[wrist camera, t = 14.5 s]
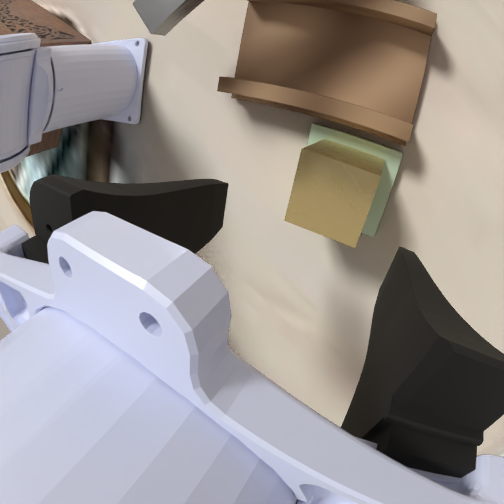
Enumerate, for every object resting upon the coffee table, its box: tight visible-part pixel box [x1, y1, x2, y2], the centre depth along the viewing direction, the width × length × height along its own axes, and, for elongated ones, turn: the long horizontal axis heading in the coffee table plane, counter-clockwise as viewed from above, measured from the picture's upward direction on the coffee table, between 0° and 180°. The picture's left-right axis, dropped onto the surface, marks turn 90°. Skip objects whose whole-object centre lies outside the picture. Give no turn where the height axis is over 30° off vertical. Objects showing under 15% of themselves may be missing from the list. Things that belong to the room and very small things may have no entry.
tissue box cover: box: [0, 0, 91, 157], centre depth 24 cm, size 26×14×10 cm, turn 54°
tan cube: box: [284, 139, 385, 248], centre depth 17 cm, size 4×4×5 cm
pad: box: [307, 123, 403, 238], centre depth 19 cm, size 6×6×1 cm
